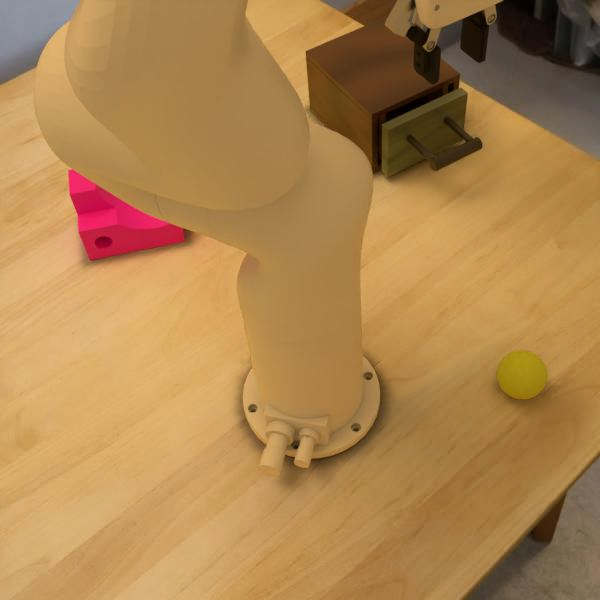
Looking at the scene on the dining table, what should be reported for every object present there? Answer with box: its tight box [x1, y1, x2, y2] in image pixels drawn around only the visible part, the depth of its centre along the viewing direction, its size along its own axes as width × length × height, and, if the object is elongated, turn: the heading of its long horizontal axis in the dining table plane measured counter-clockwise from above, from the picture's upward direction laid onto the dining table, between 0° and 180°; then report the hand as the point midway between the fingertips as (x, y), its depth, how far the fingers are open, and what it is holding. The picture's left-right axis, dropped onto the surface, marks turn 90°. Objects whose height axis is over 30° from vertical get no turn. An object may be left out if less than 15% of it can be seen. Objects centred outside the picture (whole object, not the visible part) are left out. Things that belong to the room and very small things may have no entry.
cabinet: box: [305, 15, 461, 174], centre depth 98 cm, size 14×12×9 cm
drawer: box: [377, 85, 484, 178], centre depth 95 cm, size 18×10×7 cm, turn 31°
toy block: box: [67, 168, 186, 261], centre depth 91 cm, size 15×6×8 cm, turn 102°
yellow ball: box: [496, 349, 548, 400], centre depth 76 cm, size 4×4×4 cm
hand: (449, 64), depth 83 cm, fingers open, 4 cm apart
